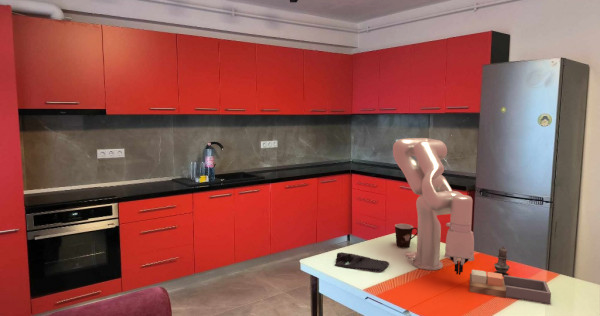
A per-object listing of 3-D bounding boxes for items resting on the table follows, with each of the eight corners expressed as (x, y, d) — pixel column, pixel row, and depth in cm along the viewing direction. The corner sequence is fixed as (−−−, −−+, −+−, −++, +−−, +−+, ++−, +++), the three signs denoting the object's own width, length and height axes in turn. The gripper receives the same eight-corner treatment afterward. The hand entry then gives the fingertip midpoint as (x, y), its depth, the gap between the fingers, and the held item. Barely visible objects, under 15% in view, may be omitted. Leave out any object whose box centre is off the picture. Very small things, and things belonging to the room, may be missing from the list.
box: (505, 297, 148) (506, 286, 148) (503, 285, 158) (503, 275, 158) (550, 304, 143) (551, 293, 142) (544, 291, 153) (545, 281, 152)
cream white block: (471, 281, 155) (471, 274, 155) (471, 276, 160) (471, 269, 159) (485, 284, 153) (486, 276, 153) (485, 279, 158) (486, 271, 157)
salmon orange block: (487, 284, 153) (487, 276, 152) (486, 279, 157) (487, 271, 157) (502, 286, 151) (502, 278, 151) (501, 281, 156) (501, 273, 155)
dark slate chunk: (380, 276, 166) (381, 265, 166) (331, 266, 177) (331, 255, 176) (391, 264, 180) (391, 253, 179) (344, 255, 190) (345, 245, 189)
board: (469, 291, 152) (470, 285, 152) (469, 279, 163) (470, 273, 163) (505, 297, 148) (506, 291, 147) (503, 284, 159) (503, 278, 158)
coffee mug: (394, 248, 198) (395, 228, 197) (393, 242, 207) (394, 223, 206) (419, 249, 197) (420, 229, 195) (417, 243, 205) (418, 224, 204)
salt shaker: (511, 277, 165) (513, 248, 164) (495, 276, 166) (497, 247, 165) (506, 271, 171) (508, 244, 170) (491, 270, 172) (493, 243, 171)
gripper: (439, 227, 156) (437, 274, 158) (482, 232, 150) (479, 280, 152) (440, 222, 163) (438, 267, 165) (481, 226, 157) (479, 272, 159)
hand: (458, 273), depth 159 cm, fingers closed
